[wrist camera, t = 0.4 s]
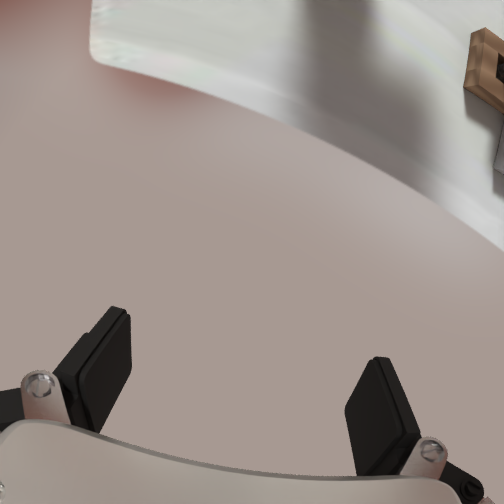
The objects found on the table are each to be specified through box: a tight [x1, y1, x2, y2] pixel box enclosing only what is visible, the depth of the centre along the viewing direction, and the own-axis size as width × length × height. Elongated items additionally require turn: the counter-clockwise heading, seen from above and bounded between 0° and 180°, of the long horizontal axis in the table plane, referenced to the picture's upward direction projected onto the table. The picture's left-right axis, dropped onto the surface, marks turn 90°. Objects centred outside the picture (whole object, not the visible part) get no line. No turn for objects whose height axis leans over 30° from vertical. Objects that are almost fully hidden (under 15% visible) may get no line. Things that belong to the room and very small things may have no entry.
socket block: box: [463, 27, 504, 114], centre depth 29 cm, size 10×10×4 cm
